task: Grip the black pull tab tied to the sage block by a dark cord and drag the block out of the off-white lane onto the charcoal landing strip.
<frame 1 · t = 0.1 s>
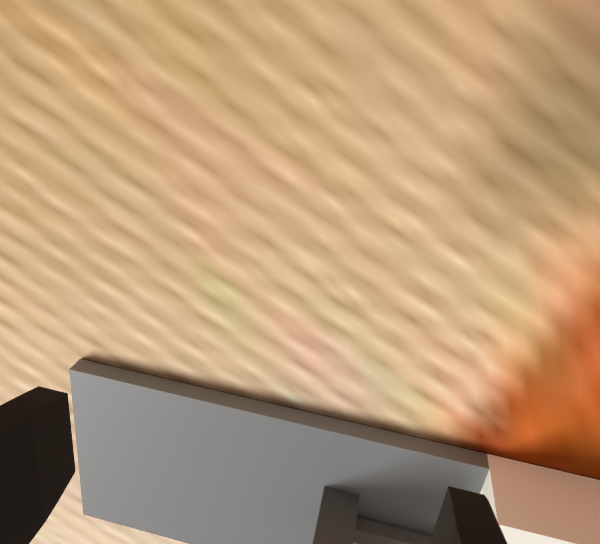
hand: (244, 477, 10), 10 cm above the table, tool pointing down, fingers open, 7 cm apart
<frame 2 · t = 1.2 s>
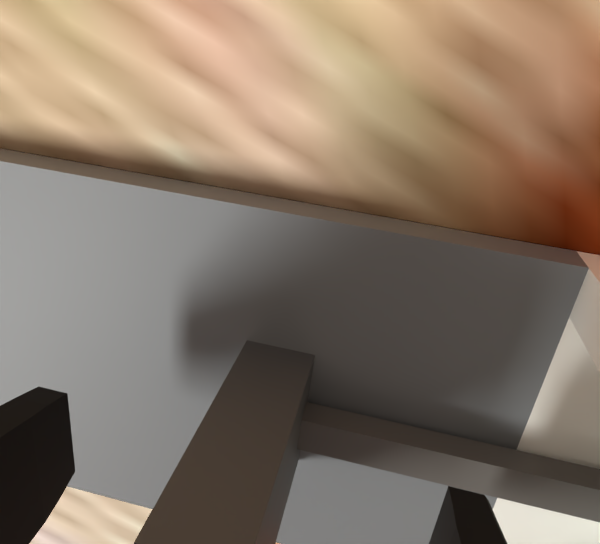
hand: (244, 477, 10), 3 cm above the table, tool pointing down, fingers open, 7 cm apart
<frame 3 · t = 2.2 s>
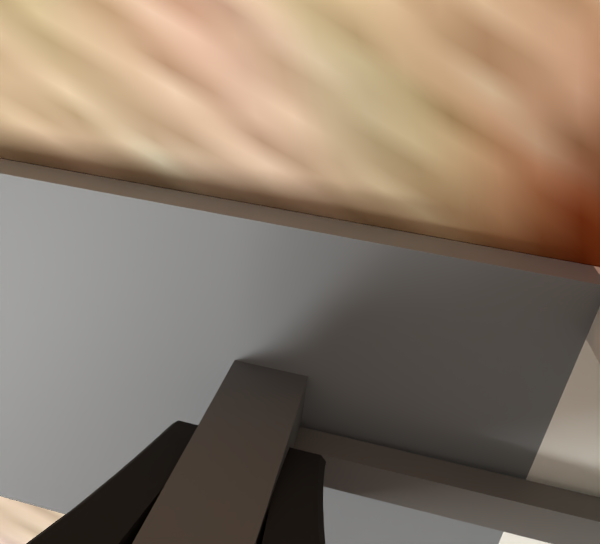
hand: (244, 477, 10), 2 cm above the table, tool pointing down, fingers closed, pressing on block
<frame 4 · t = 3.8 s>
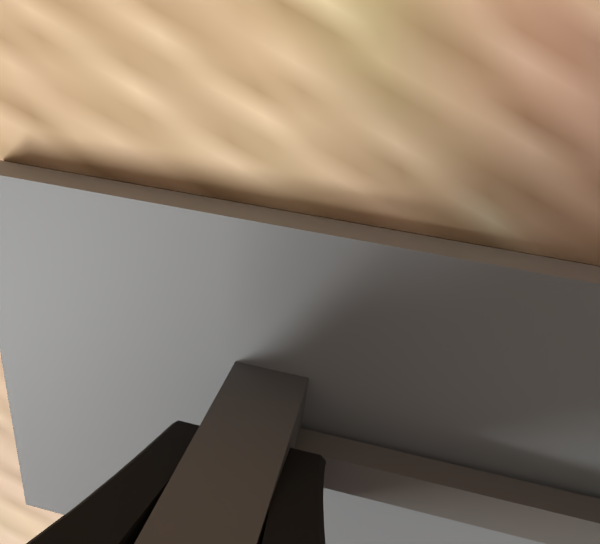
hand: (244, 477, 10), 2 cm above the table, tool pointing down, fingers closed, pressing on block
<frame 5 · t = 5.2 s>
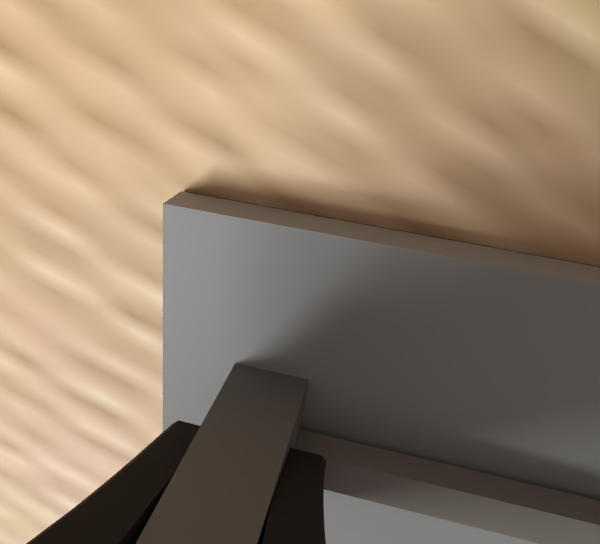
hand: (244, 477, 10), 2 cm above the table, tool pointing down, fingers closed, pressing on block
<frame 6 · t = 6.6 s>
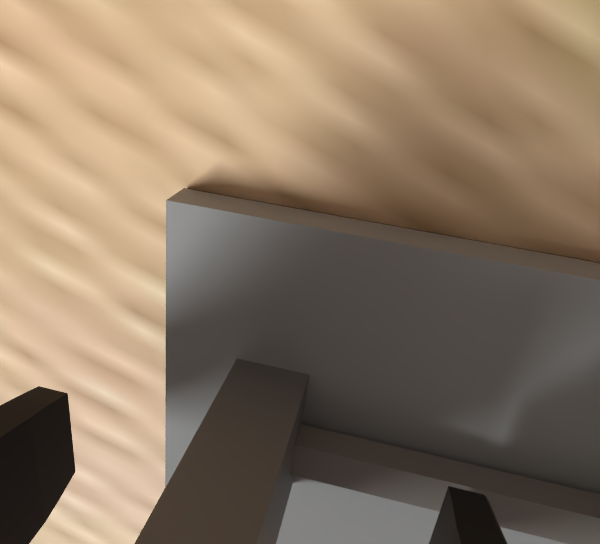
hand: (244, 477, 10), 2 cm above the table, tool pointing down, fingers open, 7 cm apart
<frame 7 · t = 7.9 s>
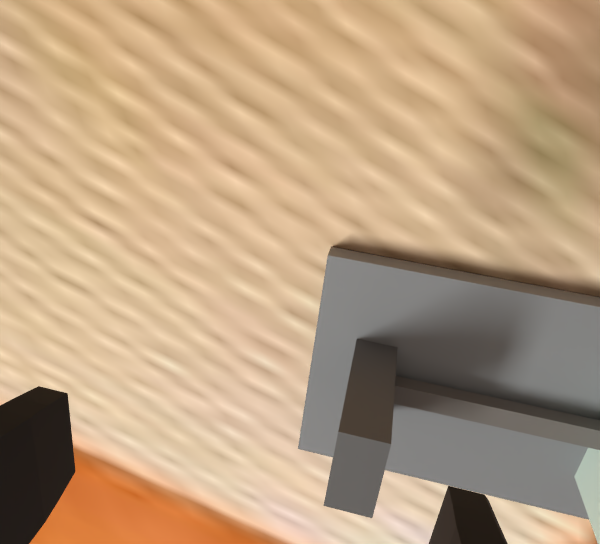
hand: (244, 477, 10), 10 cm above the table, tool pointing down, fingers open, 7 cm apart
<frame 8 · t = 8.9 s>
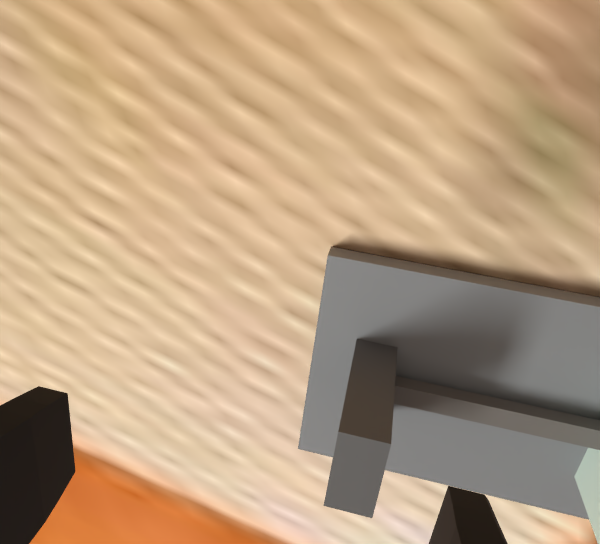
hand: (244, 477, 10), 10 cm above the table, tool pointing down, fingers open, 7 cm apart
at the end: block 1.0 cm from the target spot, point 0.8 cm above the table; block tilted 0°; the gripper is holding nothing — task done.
